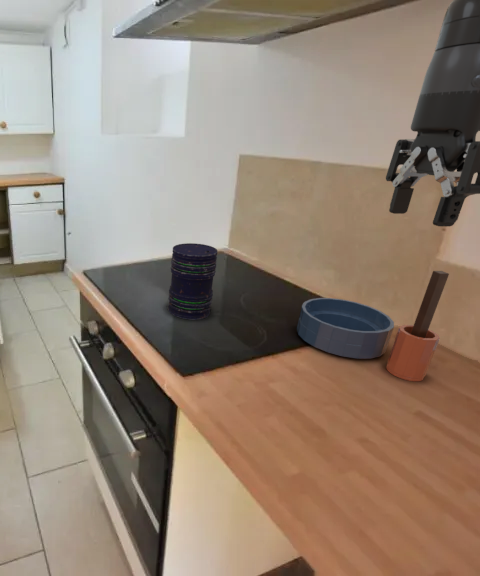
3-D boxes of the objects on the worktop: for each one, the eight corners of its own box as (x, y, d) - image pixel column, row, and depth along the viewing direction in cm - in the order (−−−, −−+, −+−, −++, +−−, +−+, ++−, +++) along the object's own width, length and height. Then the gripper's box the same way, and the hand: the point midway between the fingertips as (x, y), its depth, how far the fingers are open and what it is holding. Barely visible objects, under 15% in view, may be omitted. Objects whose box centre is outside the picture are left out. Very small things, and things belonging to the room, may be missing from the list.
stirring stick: (411, 367, 66) (446, 270, 60) (417, 371, 65) (454, 273, 58) (393, 367, 66) (427, 270, 60) (399, 371, 65) (435, 273, 58)
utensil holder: (408, 364, 68) (422, 324, 65) (431, 381, 64) (448, 340, 61) (379, 364, 68) (392, 324, 65) (400, 381, 64) (415, 340, 61)
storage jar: (160, 312, 88) (164, 251, 82) (177, 298, 96) (182, 241, 90) (202, 323, 83) (209, 258, 77) (216, 307, 90) (224, 247, 85)
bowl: (352, 322, 83) (359, 297, 81) (404, 361, 69) (415, 332, 67) (283, 322, 83) (288, 297, 81) (321, 361, 69) (328, 332, 67)
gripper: (550, 83, 41) (492, 231, 47) (444, 95, 54) (409, 209, 60) (477, 84, 41) (429, 231, 47) (389, 95, 54) (360, 209, 60)
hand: (418, 219), depth 54 cm, fingers open, 8 cm apart
